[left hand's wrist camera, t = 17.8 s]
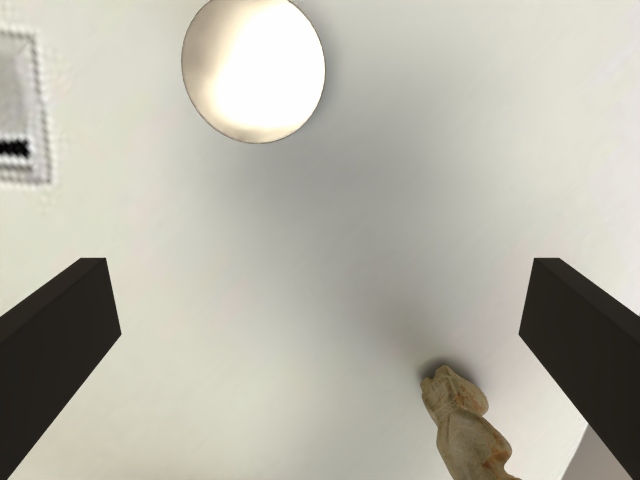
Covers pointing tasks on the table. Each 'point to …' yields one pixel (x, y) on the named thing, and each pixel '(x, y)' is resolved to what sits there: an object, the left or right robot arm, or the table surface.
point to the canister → (253, 68)
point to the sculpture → (464, 428)
